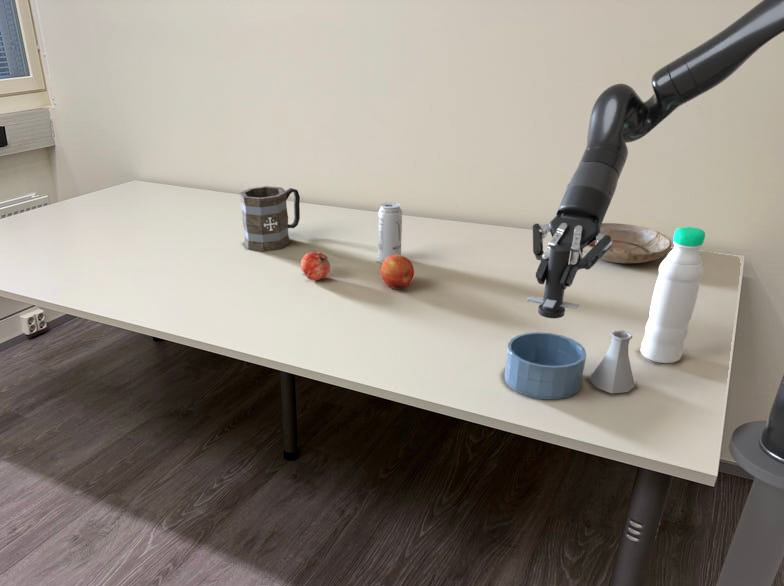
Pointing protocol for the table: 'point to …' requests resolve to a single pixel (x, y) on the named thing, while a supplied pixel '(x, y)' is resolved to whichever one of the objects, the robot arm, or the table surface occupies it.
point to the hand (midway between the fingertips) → (551, 284)
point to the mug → (267, 217)
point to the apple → (397, 271)
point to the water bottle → (674, 298)
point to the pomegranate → (315, 265)
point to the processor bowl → (544, 365)
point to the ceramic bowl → (632, 243)
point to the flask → (615, 366)
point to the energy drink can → (389, 230)
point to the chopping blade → (554, 284)
